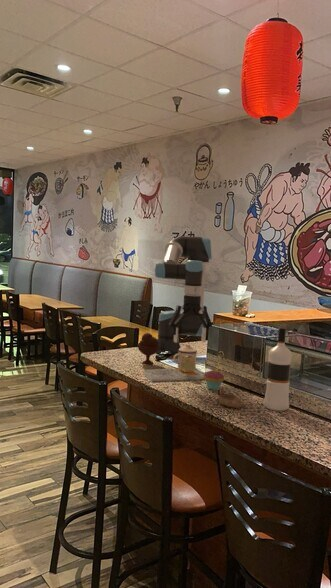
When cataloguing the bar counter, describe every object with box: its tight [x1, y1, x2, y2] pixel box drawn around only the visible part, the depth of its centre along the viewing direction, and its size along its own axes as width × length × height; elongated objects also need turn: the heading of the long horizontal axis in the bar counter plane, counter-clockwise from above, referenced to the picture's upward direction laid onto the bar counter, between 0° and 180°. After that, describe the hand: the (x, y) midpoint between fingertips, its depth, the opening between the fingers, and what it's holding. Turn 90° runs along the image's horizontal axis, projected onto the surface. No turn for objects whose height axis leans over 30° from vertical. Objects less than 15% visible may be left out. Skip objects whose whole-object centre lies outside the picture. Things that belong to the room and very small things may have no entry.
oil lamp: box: [216, 387, 243, 409], centre depth 173 cm, size 13×8×5 cm, turn 29°
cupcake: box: [203, 359, 225, 390], centre depth 194 cm, size 9×8×12 cm
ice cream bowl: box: [137, 332, 160, 366], centre depth 230 cm, size 11×11×15 cm
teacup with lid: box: [172, 343, 198, 369], centre depth 225 cm, size 12×9×12 cm
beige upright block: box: [181, 355, 195, 374], centre depth 210 cm, size 4×4×9 cm
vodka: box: [263, 327, 293, 412], centre depth 172 cm, size 9×9×30 cm
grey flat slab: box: [142, 367, 205, 382], centre depth 208 cm, size 12×25×2 cm, turn 110°
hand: (189, 341), depth 210 cm, fingers open, 13 cm apart
